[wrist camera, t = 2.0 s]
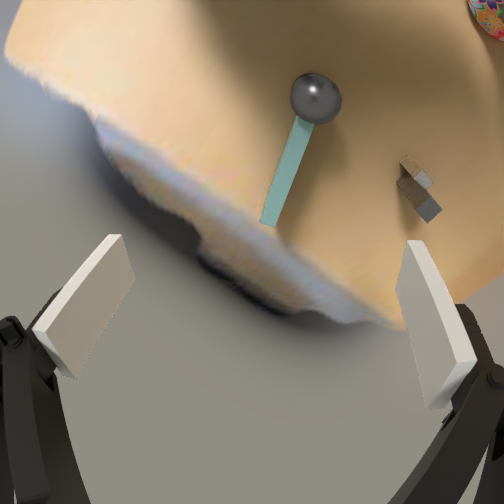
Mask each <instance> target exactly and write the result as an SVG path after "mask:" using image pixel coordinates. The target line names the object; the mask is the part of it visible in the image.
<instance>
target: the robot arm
mask: <svg viewBox="0 0 504 504" xmlns="http://www.w3.org/2000/svg"><path fill="white" fill-rule="evenodd" d="M134 281H135V277H134V274H133V271H132V268H131V265H130V262H129V259H128V255H127V252H126V249H125V245H124V242H123V239H122V235H108V236H107V237H106V238H105V239H104V240H103V242H102V243H101V244H100V245H99V246H98V247H97V248H96V249H95V251H94V252H93V253H92V254H91V255H90V256H89V257H88V259H87V260H86V261H85V262H84V263H83V264H82V266H81V267H80V268H79V269H78V270H77V272H76V273H75V274H74V275H73V276H72V278H71V279H70V280H69V281H68V282H67V284H66V285H65V287H62V288H61V289H60V290H58V291H57V292H56V293H54V294H53V295H52V297H51V298H50V299H49V300H48V302H47V304H45V306H44V307H43V308H42V310H41V311H40V312H39V313H38V315H37V316H36V317H35V319H34V320H33V321H32V323H31V324H30V325H29V327H28V328H27V329H26V331H25V330H24V328H23V327H22V325H21V323H20V321H19V320H18V318H17V317H15V316H8V317H5V318H4V319H2V320H1V321H0V504H14V490H15V494H16V498H17V504H91V503H90V501H89V498H88V495H87V492H86V490H85V487H84V484H83V481H82V478H81V475H80V472H79V469H78V466H77V463H76V459H75V456H74V452H73V449H72V445H71V441H70V438H69V434H68V430H67V426H66V422H65V418H64V413H63V409H62V404H61V399H60V394H59V388H58V383H57V378H56V375H55V373H54V370H55V368H56V367H57V368H58V369H59V371H60V372H61V373H62V375H63V376H66V377H70V378H73V379H77V377H78V375H79V374H80V372H81V370H82V368H83V366H84V365H85V363H86V361H87V359H88V357H89V356H90V354H91V352H92V350H93V348H94V347H95V345H96V343H97V341H98V340H99V338H100V336H101V335H102V333H103V331H104V330H105V328H106V326H107V325H108V323H109V321H110V320H111V318H112V316H113V315H114V313H115V311H116V310H117V308H118V306H119V305H120V303H121V302H122V300H123V298H124V297H125V295H126V294H127V292H128V290H129V289H130V287H131V286H132V284H133V283H134ZM395 290H396V293H397V296H398V300H399V303H400V306H401V310H402V313H403V317H404V320H405V324H406V327H407V331H408V335H409V339H410V342H411V346H412V350H413V354H414V358H415V363H416V366H417V371H418V376H419V380H420V385H421V389H422V394H423V399H424V404H425V410H433V409H442V408H445V406H446V405H447V404H448V402H449V401H450V400H451V402H452V406H453V409H452V411H451V412H450V413H449V414H448V415H447V417H446V418H445V419H444V420H443V421H442V423H443V425H442V427H441V429H440V430H439V432H438V434H437V435H436V437H435V438H434V440H433V442H432V443H431V445H430V446H429V448H428V449H427V451H426V453H425V454H424V455H423V457H422V459H421V460H420V461H419V463H418V464H417V466H416V467H415V469H414V470H413V472H412V473H411V474H410V476H409V477H408V478H407V480H406V481H405V482H404V484H403V485H402V486H401V487H400V489H399V490H398V492H397V493H396V494H395V495H394V497H393V498H392V499H391V500H390V501H389V503H388V504H457V503H458V501H459V500H460V498H461V496H462V494H463V493H464V491H465V489H466V488H467V486H468V484H469V482H470V480H471V479H472V477H473V475H474V473H475V471H476V469H477V467H478V465H479V463H480V461H481V459H482V457H483V455H484V453H485V451H486V449H487V447H488V444H489V447H488V451H487V455H486V460H485V464H484V468H483V472H482V475H481V479H480V483H479V486H478V490H477V493H476V496H475V499H474V502H473V504H504V368H503V367H502V366H500V365H498V364H495V363H494V361H493V358H492V356H491V353H490V351H489V348H488V346H487V344H486V341H485V339H484V337H483V334H481V330H480V327H479V325H477V321H476V319H475V317H474V314H473V313H472V312H471V310H470V309H469V308H468V307H467V306H466V305H465V304H454V302H453V300H452V298H451V296H450V294H449V292H448V289H447V287H446V285H445V283H444V281H443V279H442V277H441V275H440V273H439V271H438V269H437V267H436V265H435V263H434V261H433V259H432V257H431V256H430V254H429V252H428V250H427V248H426V246H425V244H424V243H423V241H422V240H407V242H406V247H405V251H404V256H403V260H402V264H401V269H400V273H399V277H398V281H397V285H396V289H395Z"/></svg>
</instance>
